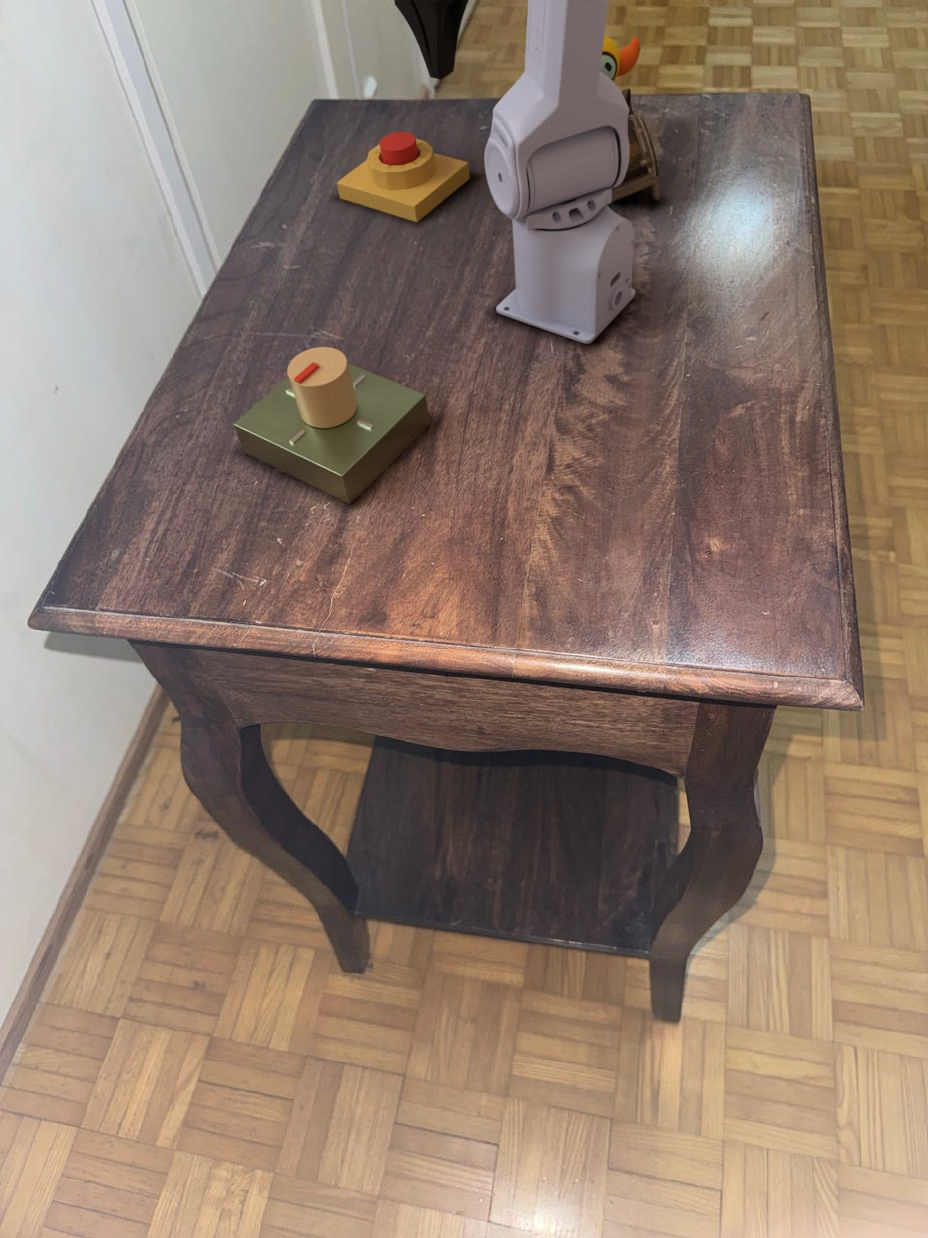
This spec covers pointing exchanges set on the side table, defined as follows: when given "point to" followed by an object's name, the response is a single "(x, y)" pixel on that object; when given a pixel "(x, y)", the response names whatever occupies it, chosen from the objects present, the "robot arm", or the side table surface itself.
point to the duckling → (618, 58)
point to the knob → (322, 387)
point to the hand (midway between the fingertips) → (441, 73)
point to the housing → (404, 183)
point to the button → (398, 148)
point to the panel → (336, 435)
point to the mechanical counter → (639, 162)
